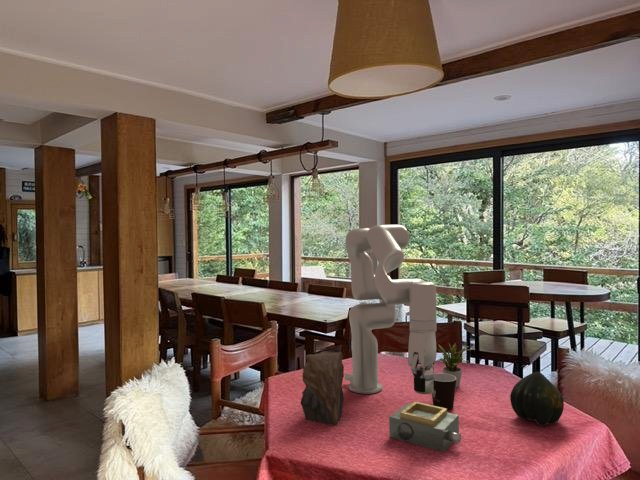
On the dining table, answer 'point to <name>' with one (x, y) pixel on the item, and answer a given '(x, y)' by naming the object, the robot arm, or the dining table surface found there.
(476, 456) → the dining table surface
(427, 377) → the silver lidded pot
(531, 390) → the squash
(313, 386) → the brown rock
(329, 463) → the dining table surface
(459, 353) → the house plant
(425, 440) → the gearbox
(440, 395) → the coffee mug
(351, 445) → the dining table surface
